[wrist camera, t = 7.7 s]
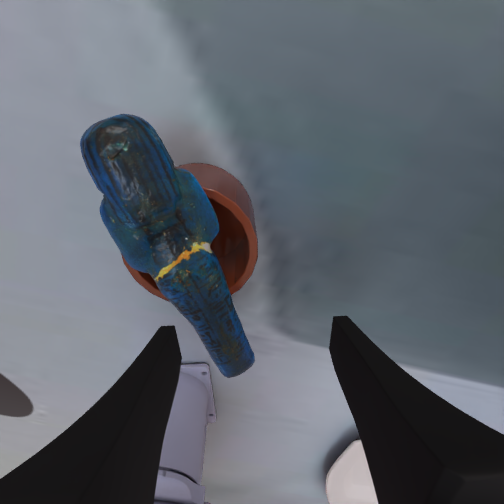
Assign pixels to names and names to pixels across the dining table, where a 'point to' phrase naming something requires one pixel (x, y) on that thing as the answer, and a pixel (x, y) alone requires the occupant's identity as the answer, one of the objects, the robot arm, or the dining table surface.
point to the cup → (222, 228)
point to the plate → (351, 478)
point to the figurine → (165, 230)
